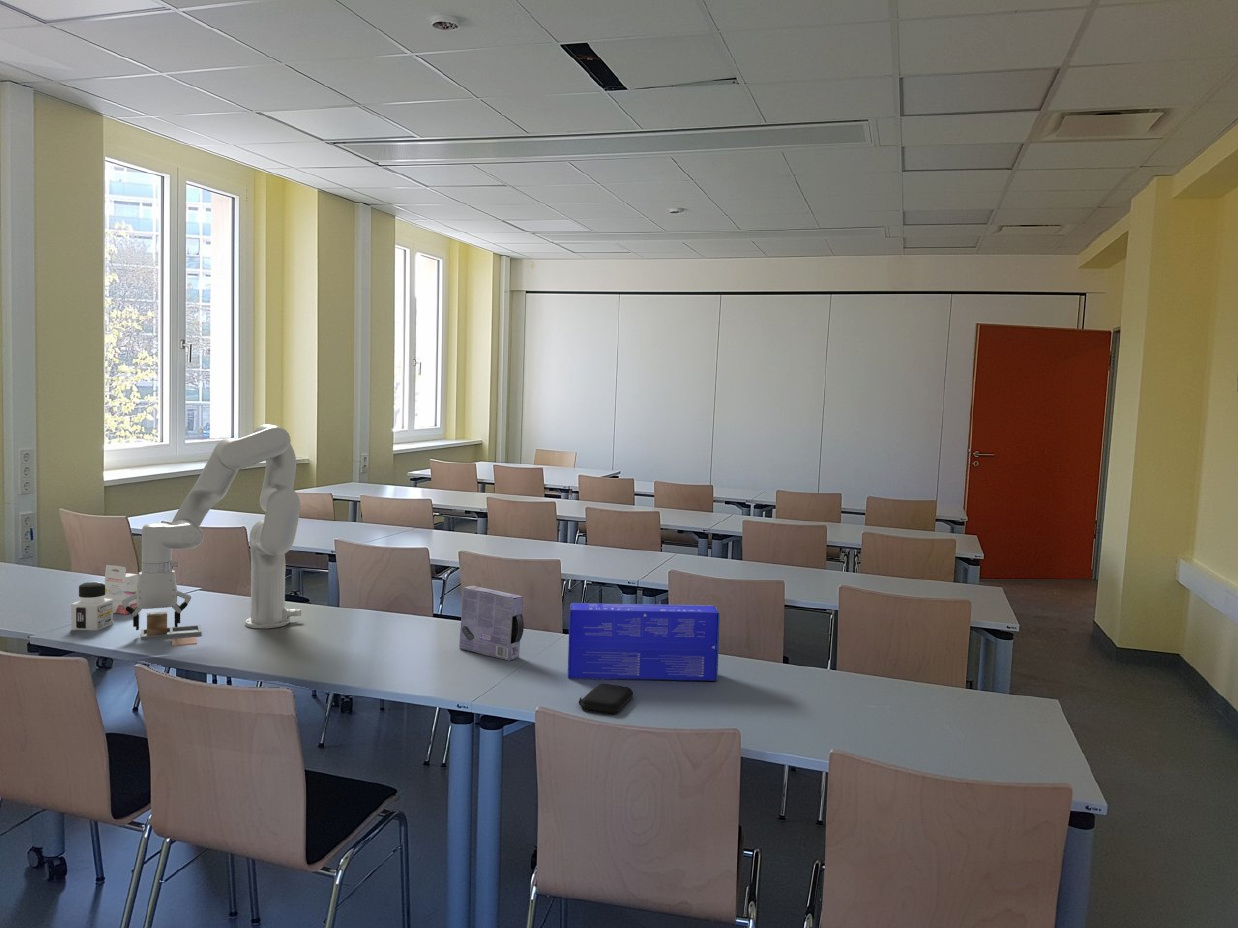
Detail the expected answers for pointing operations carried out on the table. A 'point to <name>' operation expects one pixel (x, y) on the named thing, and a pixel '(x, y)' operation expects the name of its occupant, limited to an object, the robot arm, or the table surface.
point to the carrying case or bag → (606, 699)
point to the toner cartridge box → (643, 642)
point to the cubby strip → (174, 632)
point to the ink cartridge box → (120, 587)
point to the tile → (184, 641)
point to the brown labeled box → (156, 623)
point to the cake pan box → (491, 622)
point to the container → (91, 608)
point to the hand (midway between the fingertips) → (156, 627)
